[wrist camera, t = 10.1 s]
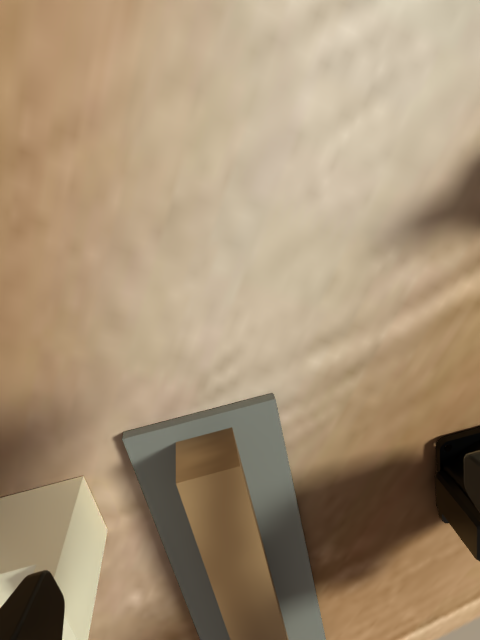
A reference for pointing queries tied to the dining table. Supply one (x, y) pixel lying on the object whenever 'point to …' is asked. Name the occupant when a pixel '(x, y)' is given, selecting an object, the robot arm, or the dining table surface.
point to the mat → (268, 502)
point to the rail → (228, 535)
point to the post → (55, 546)
